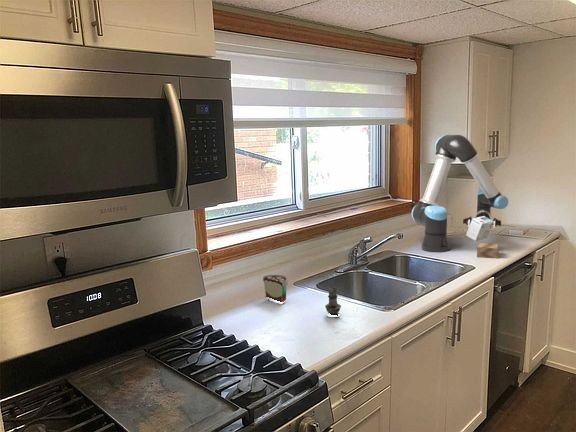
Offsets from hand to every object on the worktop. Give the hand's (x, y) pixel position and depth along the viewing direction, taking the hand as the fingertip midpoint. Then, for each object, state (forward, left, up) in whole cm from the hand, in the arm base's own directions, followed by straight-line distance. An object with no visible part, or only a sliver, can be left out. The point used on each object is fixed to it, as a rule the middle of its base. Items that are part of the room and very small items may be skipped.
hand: (481, 224), depth 249 cm
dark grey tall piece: (-46, -108, -15) cm, 119 cm away
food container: (-72, -100, -15) cm, 125 cm away
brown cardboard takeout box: (+4, -7, -14) cm, 17 cm away
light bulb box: (-3, +3, -8) cm, 9 cm away
